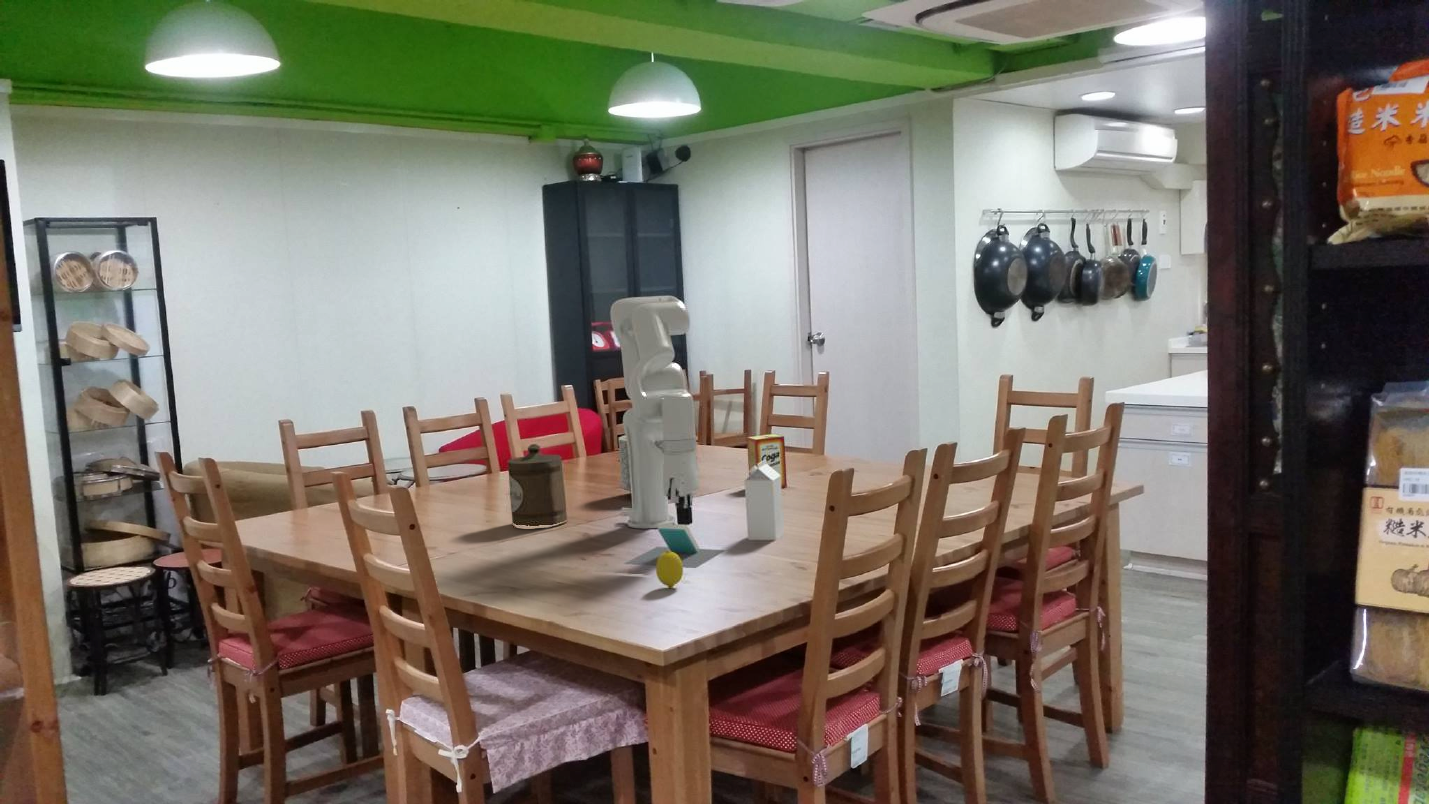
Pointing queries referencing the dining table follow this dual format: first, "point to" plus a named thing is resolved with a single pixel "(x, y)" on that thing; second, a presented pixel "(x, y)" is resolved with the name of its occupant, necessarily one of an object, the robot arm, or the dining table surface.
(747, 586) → the dining table surface
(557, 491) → the wooden container
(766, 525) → the milk carton
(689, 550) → the tile
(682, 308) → the robot arm
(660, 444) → the planter
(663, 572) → the lemon
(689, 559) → the mat
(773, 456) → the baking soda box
